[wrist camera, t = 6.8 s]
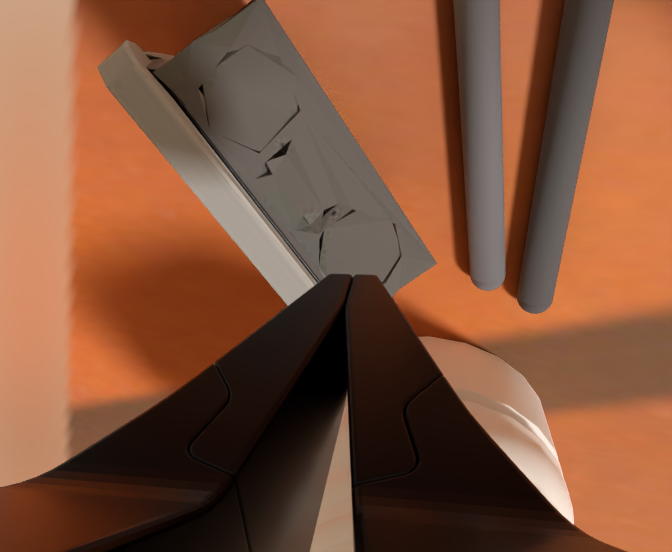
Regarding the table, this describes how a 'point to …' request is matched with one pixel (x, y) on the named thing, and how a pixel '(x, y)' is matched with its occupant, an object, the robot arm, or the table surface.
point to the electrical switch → (268, 155)
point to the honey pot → (492, 414)
